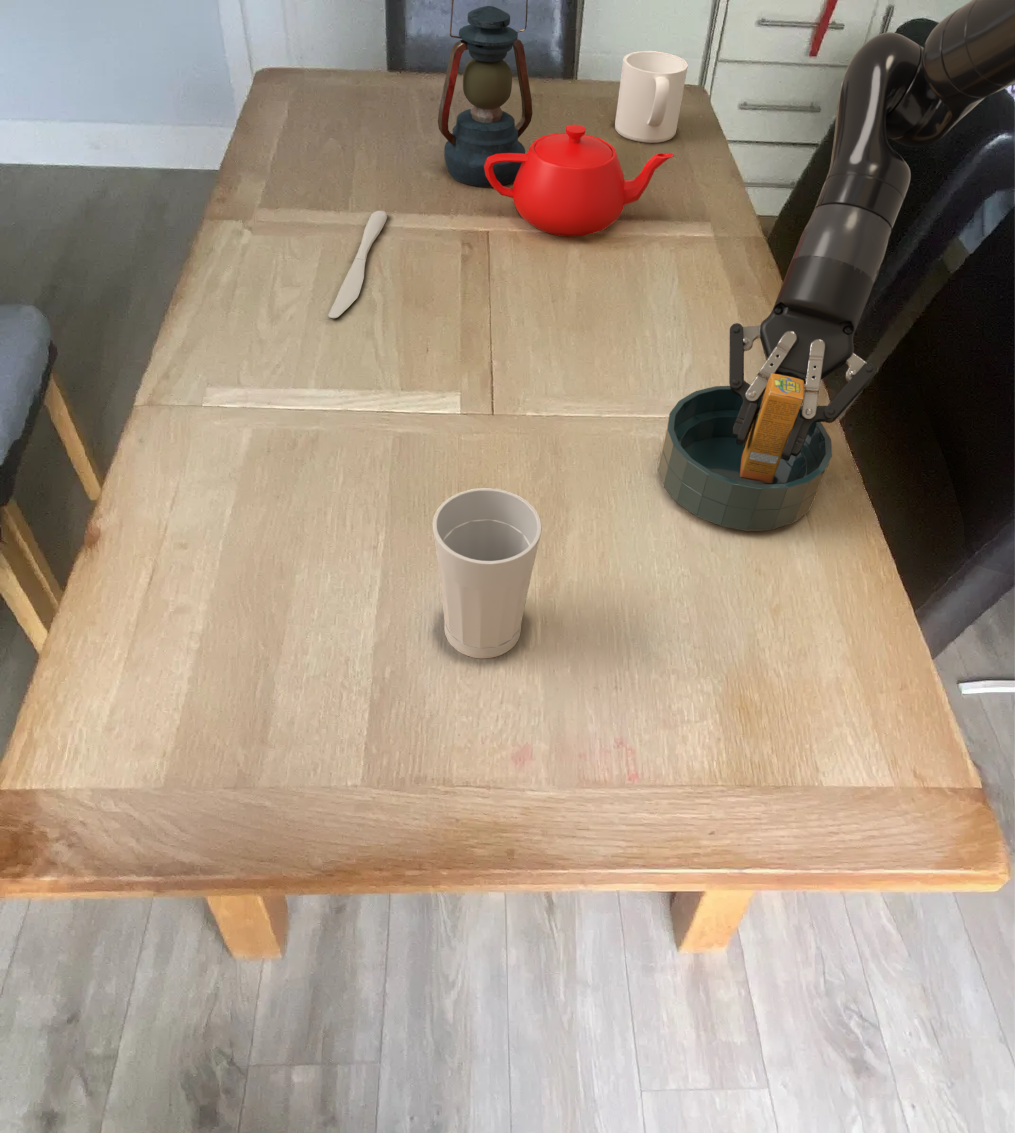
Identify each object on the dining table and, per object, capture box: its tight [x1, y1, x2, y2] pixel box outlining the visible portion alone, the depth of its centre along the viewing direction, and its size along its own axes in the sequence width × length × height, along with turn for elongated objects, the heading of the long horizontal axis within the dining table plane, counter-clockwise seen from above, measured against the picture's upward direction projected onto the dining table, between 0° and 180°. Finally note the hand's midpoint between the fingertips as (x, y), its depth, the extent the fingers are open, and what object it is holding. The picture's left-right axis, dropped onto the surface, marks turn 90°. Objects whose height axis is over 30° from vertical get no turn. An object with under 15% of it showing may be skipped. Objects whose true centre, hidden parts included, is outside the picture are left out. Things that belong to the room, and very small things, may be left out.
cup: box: [432, 487, 543, 659], centre depth 70 cm, size 8×8×12 cm
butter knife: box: [327, 209, 388, 319], centre depth 114 cm, size 1×27×3 cm
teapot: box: [484, 124, 675, 238], centre depth 121 cm, size 25×16×12 cm, turn 90°
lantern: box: [437, 0, 534, 188], centre depth 121 cm, size 14×12×35 cm
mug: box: [614, 50, 689, 144], centre depth 143 cm, size 13×10×10 cm
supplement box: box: [740, 373, 805, 483], centre depth 83 cm, size 3×3×10 cm
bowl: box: [657, 385, 833, 532], centre depth 87 cm, size 15×15×6 cm
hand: (762, 450), depth 83 cm, fingers closed on supplement box, 3 cm apart
